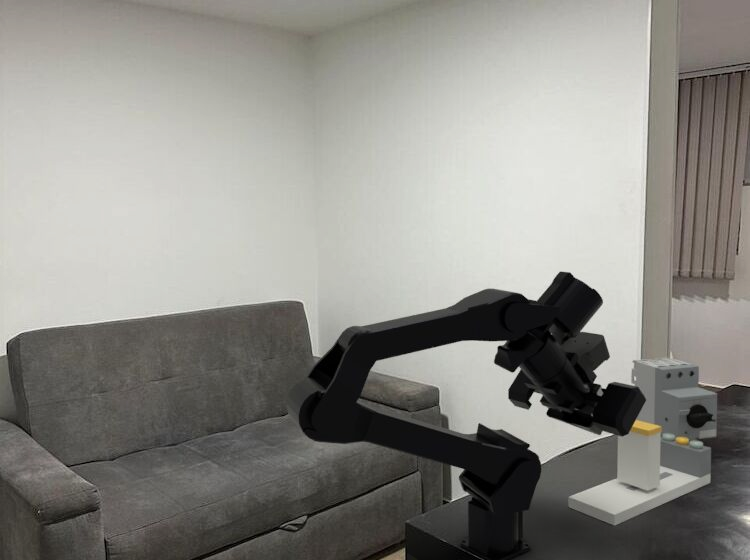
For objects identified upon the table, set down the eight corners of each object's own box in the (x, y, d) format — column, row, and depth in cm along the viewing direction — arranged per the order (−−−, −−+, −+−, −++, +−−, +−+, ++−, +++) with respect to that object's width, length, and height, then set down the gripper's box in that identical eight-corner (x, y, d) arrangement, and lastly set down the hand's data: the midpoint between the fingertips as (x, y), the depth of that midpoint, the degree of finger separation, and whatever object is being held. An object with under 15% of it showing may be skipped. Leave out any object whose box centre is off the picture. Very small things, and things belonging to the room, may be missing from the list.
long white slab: (614, 525, 93) (615, 479, 92) (568, 507, 99) (568, 464, 98) (710, 482, 106) (711, 442, 106) (664, 468, 113) (665, 430, 112)
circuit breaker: (684, 467, 113) (686, 377, 112) (630, 441, 127) (631, 360, 125) (723, 462, 115) (725, 373, 114) (665, 436, 129) (667, 357, 127)
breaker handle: (647, 491, 99) (648, 430, 98) (616, 480, 103) (616, 422, 102) (660, 485, 101) (661, 426, 100) (629, 475, 105) (629, 418, 104)
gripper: (638, 322, 83) (687, 397, 90) (521, 308, 98) (572, 373, 106) (595, 398, 79) (651, 470, 87) (481, 370, 95) (536, 433, 102)
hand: (599, 431), depth 95 cm, fingers closed
